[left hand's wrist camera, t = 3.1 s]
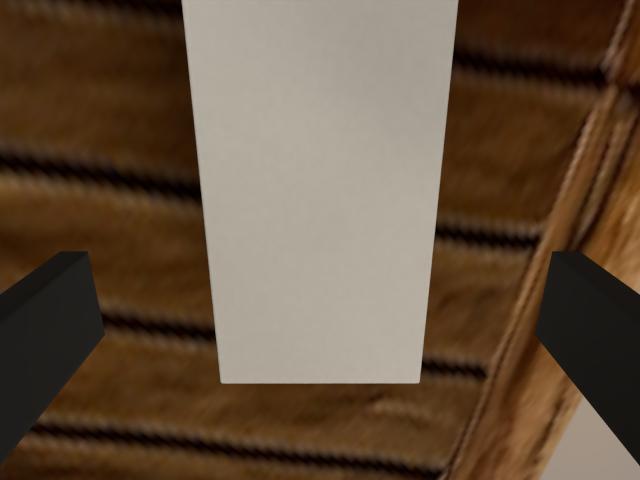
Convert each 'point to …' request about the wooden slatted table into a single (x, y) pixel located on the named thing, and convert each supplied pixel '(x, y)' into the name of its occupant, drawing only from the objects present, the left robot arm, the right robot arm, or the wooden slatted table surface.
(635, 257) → the wooden slatted table surface
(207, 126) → the thick board
